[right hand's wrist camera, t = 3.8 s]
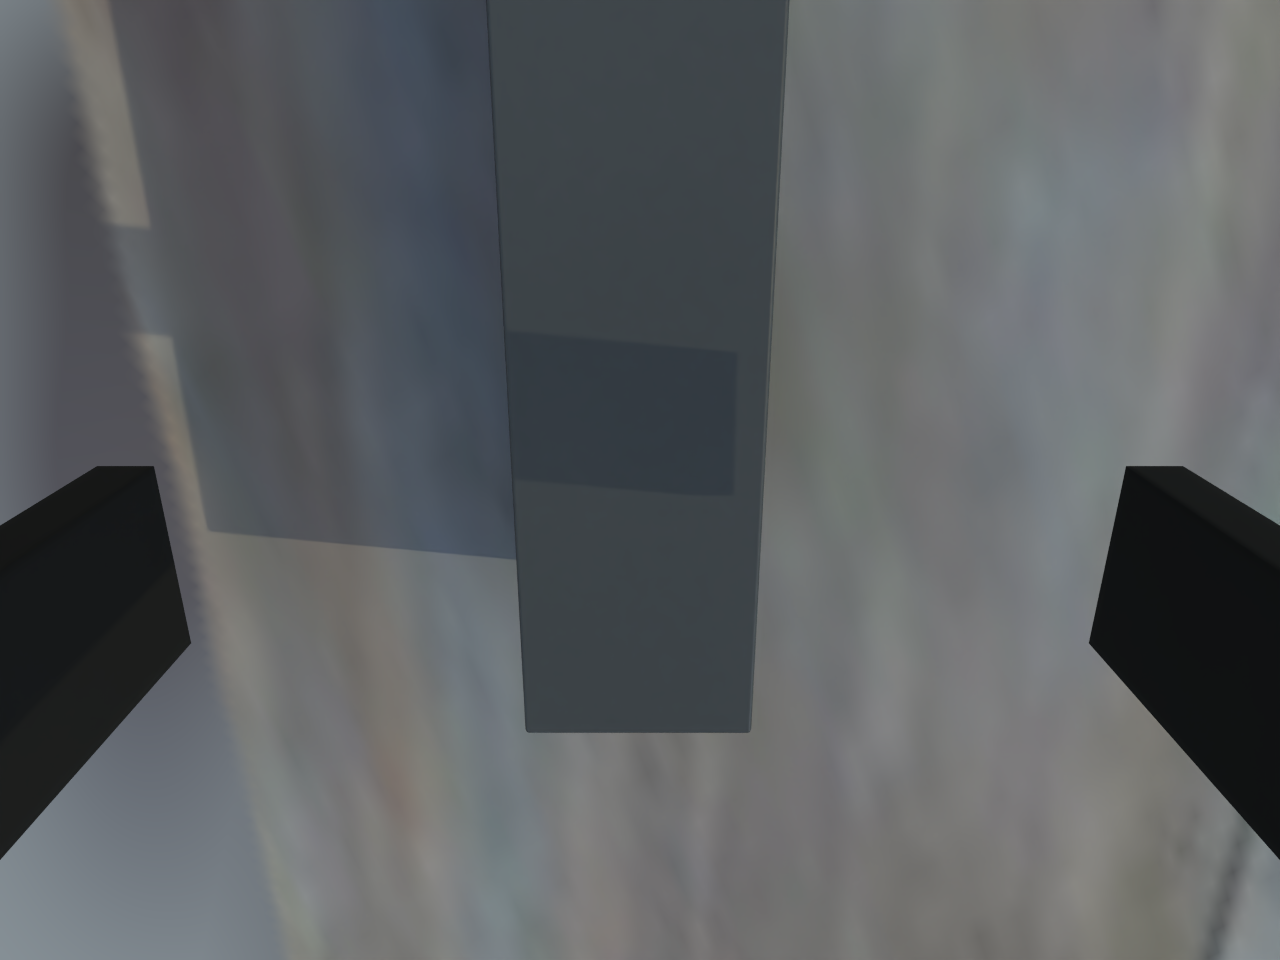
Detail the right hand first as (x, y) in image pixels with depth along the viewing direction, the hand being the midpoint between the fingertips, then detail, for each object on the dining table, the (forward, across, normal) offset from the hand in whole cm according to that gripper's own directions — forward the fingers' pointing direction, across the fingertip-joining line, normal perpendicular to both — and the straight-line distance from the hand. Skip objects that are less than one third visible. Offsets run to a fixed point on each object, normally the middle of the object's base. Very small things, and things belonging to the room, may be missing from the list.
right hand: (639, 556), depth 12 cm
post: (+12, 0, -26) cm, 29 cm away
